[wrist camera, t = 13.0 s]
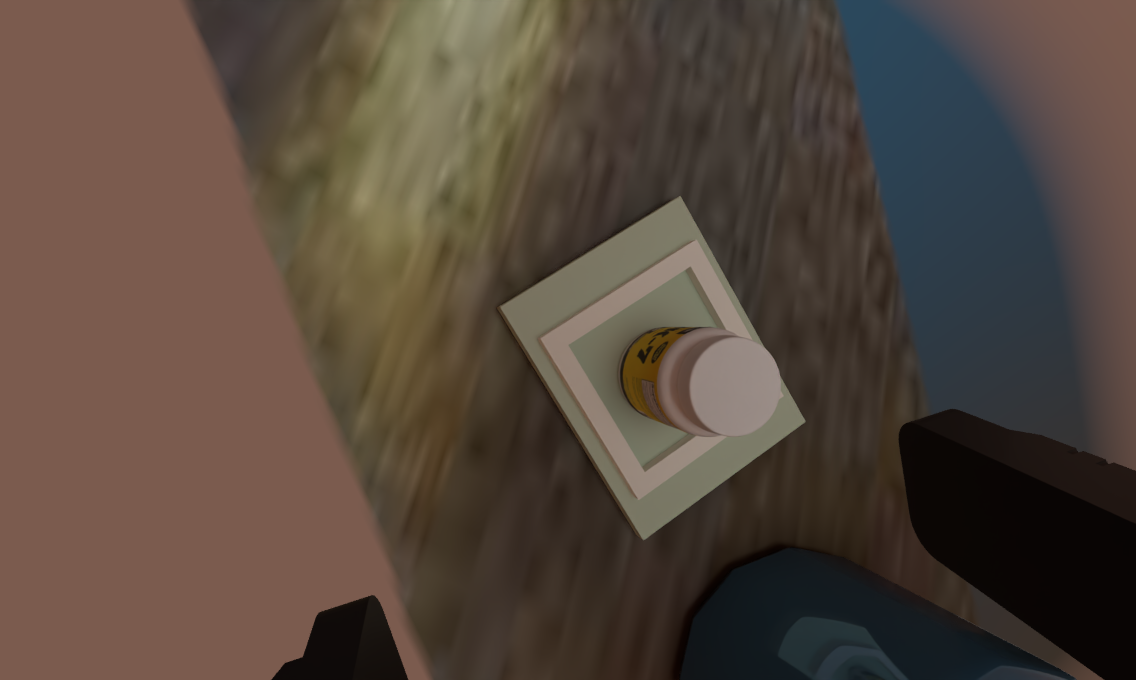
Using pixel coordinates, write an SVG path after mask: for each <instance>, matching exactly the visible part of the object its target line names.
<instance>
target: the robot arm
mask: <svg viewBox="0 0 1136 680" xmlns="http://www.w3.org/2000/svg"><path fill="white" fill-rule="evenodd" d="M899 447H900V454H901V460H902V467H903V474H904V480H905V487H906V494H907V500H908V507H909V514H910V519H911V523H912V526H913V528H914V531H915V533H916V535H917V537H918V539H919V540H920V542H921V544H922V545H923V546H924V548H925V549H926V550H927V551H928V553H929V554H930V555H931V556H932V557H934V558H935V559H936V560H937V561H939V562H940V563H942V564H943V565H944V566H946V567H947V568H949V569H950V570H951V571H953V572H954V573H956V574H957V575H958V576H960V577H961V578H963V579H964V580H965V581H967V582H968V583H970V584H971V585H972V586H974V587H975V588H977V589H978V590H980V591H981V592H982V593H984V594H985V595H987V596H988V597H990V598H991V599H992V600H994V601H995V602H996V603H998V604H999V605H1000V606H1002V607H1003V608H1005V609H1006V610H1007V611H1009V612H1010V613H1012V614H1013V615H1014V616H1016V617H1017V618H1019V619H1020V620H1022V621H1023V622H1024V623H1026V624H1027V625H1028V626H1030V627H1031V628H1033V629H1034V630H1036V631H1037V632H1038V633H1040V634H1041V635H1042V636H1044V637H1045V638H1047V639H1048V640H1049V641H1051V642H1052V643H1054V644H1055V645H1056V646H1058V647H1059V648H1061V649H1062V650H1064V651H1065V652H1066V653H1068V654H1069V655H1070V656H1072V657H1073V658H1075V659H1076V660H1077V661H1079V662H1080V663H1082V664H1083V665H1084V666H1086V667H1087V668H1089V669H1090V670H1091V671H1093V672H1094V673H1096V674H1097V675H1098V676H1100V677H1102V678H1103V679H1104V680H1136V471H1135V470H1132V469H1129V468H1127V467H1124V466H1121V465H1118V464H1116V463H1111V464H1108V463H1107V462H1106V460H1105V459H1103V458H1100V457H1098V456H1095V455H1092V454H1089V453H1087V452H1084V451H1082V452H1078V451H1077V450H1076V448H1074V447H1071V446H1068V445H1066V444H1063V443H1060V442H1058V441H1055V440H1053V439H1050V438H1047V437H1045V436H1042V435H1037V434H1032V433H1025V432H1020V431H1014V430H1009V429H1006V428H1004V427H1001V426H999V425H996V424H994V423H991V422H988V421H985V420H983V419H981V418H978V417H976V416H973V415H970V414H968V413H965V412H963V411H960V410H956V409H949V410H945V411H942V412H939V413H936V414H933V415H930V416H927V417H924V418H921V419H918V420H915V421H911V422H908V423H906V424H904V425H903V426H902V427H901V429H900V432H899ZM272 680H408V678H407V675H406V673H405V669H404V667H403V664H402V661H401V658H400V656H399V653H398V650H397V647H396V644H395V642H394V639H393V636H392V633H391V630H390V628H389V625H388V622H387V619H386V617H385V614H384V611H383V609H382V606H381V604H380V602H379V601H378V599H377V598H376V597H375V596H373V595H371V596H368V597H365V598H363V599H359V600H356V601H353V602H350V603H347V604H343V605H340V606H338V607H334V608H331V609H328V610H325V611H322V612H320V613H318V615H317V616H316V619H315V622H314V625H313V628H312V631H311V634H310V637H309V640H308V643H307V646H306V649H305V652H304V655H303V657H302V658H299V659H296V660H293V661H290V662H287V663H285V664H284V665H283V666H282V667H281V669H280V670H279V671H278V672H277V673H276V675H275V676H274V677H273V679H272Z"/></svg>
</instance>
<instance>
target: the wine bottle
mask: <svg viewBox="0 0 1136 680" xmlns="http://www.w3.org/2000/svg"><path fill="white" fill-rule="evenodd" d="M679 680H1076V678H1074V677H1073V676H1071V675H1070V674H1068V673H1066V672H1064V671H1062V670H1061V669H1059V668H1057V667H1055V666H1054V665H1052V664H1050V663H1048V662H1046V661H1044V660H1042V659H1040V658H1038V657H1036V656H1034V655H1033V654H1031V653H1028V652H1027V651H1025V650H1023V649H1021V648H1019V647H1017V646H1015V645H1013V644H1011V643H1009V642H1007V641H1005V640H1003V639H1001V638H999V637H997V636H995V635H994V634H992V633H990V632H988V631H986V630H984V629H982V628H980V627H978V626H976V625H974V624H972V623H971V622H969V621H967V620H965V619H963V618H961V617H959V616H957V615H955V614H953V613H951V612H949V611H947V610H945V609H943V608H941V607H940V606H938V605H936V604H934V603H932V602H930V601H928V600H926V599H924V598H922V597H920V596H918V595H916V594H914V593H912V592H910V591H909V590H907V589H905V588H903V587H901V586H899V585H897V584H895V583H893V582H891V581H889V580H887V579H885V578H883V577H881V576H879V575H878V574H876V573H874V572H872V571H870V570H868V569H866V568H864V567H862V566H860V565H858V564H856V563H854V562H852V561H850V560H848V559H847V558H844V557H839V556H834V555H829V554H824V553H819V552H814V551H809V550H804V549H799V548H793V547H789V548H784V549H781V550H778V551H776V552H773V553H771V554H768V555H766V556H763V557H761V558H758V559H756V560H753V561H751V562H748V563H746V564H743V565H741V566H738V567H736V568H733V569H731V570H730V571H729V573H728V574H727V575H726V576H725V577H724V579H723V580H722V581H721V582H720V583H719V585H718V586H717V587H716V588H715V590H714V591H713V592H712V593H711V594H710V596H709V597H708V598H707V599H706V600H705V602H704V603H703V604H702V605H701V606H700V608H699V609H698V610H697V611H696V612H695V614H694V615H693V617H692V621H691V625H690V630H689V634H688V638H687V642H686V647H685V651H684V655H683V659H682V664H681V668H680V672H679Z"/></svg>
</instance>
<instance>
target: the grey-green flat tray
mask: <svg viewBox="0 0 1136 680" xmlns="http://www.w3.org/2000/svg"><path fill="white" fill-rule="evenodd" d="M497 309H498V311H499V312H500V314H501V316H502V317H503V319H504V321H505V322H506V324H507V325H508V327H509V329H510V330H511V332H512V334H513V335H514V337H515V338H516V340H517V342H518V343H519V345H520V347H521V348H522V350H523V351H524V353H525V355H526V356H527V358H528V360H529V361H530V363H531V365H532V366H533V368H534V369H535V371H536V373H537V374H538V376H539V378H540V379H541V381H542V382H543V384H544V386H545V387H546V389H547V391H548V392H549V394H550V395H551V397H552V399H553V400H554V402H555V404H556V405H557V407H558V408H559V410H560V412H561V413H562V415H563V417H564V418H565V420H566V421H567V423H568V425H569V426H570V428H571V430H572V431H573V433H574V434H575V436H576V438H577V439H578V441H579V443H580V444H581V446H582V448H583V449H584V451H585V452H586V454H587V456H588V457H589V459H590V461H591V462H592V464H593V465H594V467H595V469H596V470H597V472H598V474H599V475H600V477H601V478H602V480H603V482H604V483H605V485H606V487H607V488H608V490H609V491H610V493H611V495H612V496H613V498H614V500H615V501H616V503H617V504H618V506H619V508H620V509H621V511H622V513H623V514H624V516H625V517H626V519H627V521H628V522H629V524H630V526H631V527H632V529H633V530H634V532H635V534H636V535H638V536H639V537H640V538H641V539H642V540H645V539H646V538H647V537H649V536H650V535H651V534H653V533H654V532H656V531H657V530H658V529H660V528H661V527H662V526H664V525H665V524H667V523H668V522H669V521H671V520H672V519H673V518H675V517H676V516H677V515H679V514H680V513H682V512H683V511H684V510H686V509H687V508H688V507H690V506H691V505H692V504H694V503H695V502H697V501H698V500H699V499H701V498H702V497H703V496H705V495H706V494H707V493H709V492H710V491H712V490H713V489H714V488H716V487H717V486H718V485H720V484H721V483H723V482H724V481H725V480H727V479H728V478H729V477H731V476H732V475H733V474H735V473H736V472H738V471H739V470H740V469H742V468H743V467H744V466H746V465H747V464H748V463H750V462H751V461H753V460H754V459H755V458H757V457H758V456H759V455H761V454H762V453H763V452H765V451H766V450H768V449H769V448H770V447H772V446H773V445H774V444H776V443H777V442H779V441H780V440H781V439H783V438H784V437H785V436H787V435H788V434H789V433H791V432H792V431H794V430H795V429H796V428H798V427H799V426H800V425H802V424H803V423H804V422H805V420H804V418H803V416H802V415H801V413H800V411H799V409H798V407H797V406H796V404H795V402H794V400H793V398H792V397H791V395H790V393H789V391H788V389H787V387H786V386H785V384H784V382H783V380H782V378H781V377H780V379H781V392H780V397H779V401H778V404H777V407H776V409H775V411H774V413H773V415H772V416H771V417H770V419H769V420H768V421H767V422H766V423H765V424H764V425H763V426H762V427H760V428H759V429H758V430H756V431H754V432H752V433H750V434H748V435H744V436H738V437H728V436H722V435H721V436H716V437H701V436H695V435H691V434H688V433H686V432H683V431H681V430H679V429H676V428H673V427H671V426H668V425H665V424H663V423H660V422H658V421H655V420H652V419H650V418H647V417H645V416H643V415H641V414H640V413H638V412H637V411H635V410H634V409H633V408H632V407H631V406H630V405H629V404H628V402H627V401H626V399H625V398H624V396H623V394H622V391H621V388H620V385H619V377H618V371H619V364H620V360H621V357H622V355H623V353H624V351H625V350H626V348H627V347H628V345H629V344H630V343H631V342H632V341H633V340H634V339H635V338H636V337H637V336H639V335H640V334H642V333H644V332H645V331H648V330H650V329H654V328H660V327H714V328H721V329H725V330H728V331H730V332H733V333H735V334H736V335H738V336H739V337H744V338H748V339H751V340H753V341H755V342H757V343H759V344H760V345H762V346H763V344H762V342H761V341H760V339H759V337H758V335H757V333H756V332H755V330H754V328H753V326H752V324H751V323H750V321H749V319H748V317H747V315H746V314H745V312H744V310H743V308H742V306H741V305H740V303H739V301H738V299H737V297H736V295H735V294H734V292H733V290H732V288H731V286H730V285H729V283H728V281H727V279H726V277H725V276H724V274H723V272H722V270H721V268H720V267H719V265H718V263H717V261H716V259H715V258H714V256H713V254H712V252H711V250H710V249H709V247H708V245H707V243H706V241H705V240H704V238H703V236H702V234H701V232H700V231H699V229H698V227H697V225H696V223H695V222H694V220H693V218H692V216H691V214H690V213H689V211H688V209H687V207H686V205H685V203H684V202H683V200H682V198H681V196H679V197H677V198H675V199H673V200H671V201H669V202H668V203H666V204H665V205H663V206H661V207H660V208H658V209H656V210H655V211H653V212H651V213H650V214H648V215H647V216H645V217H643V218H642V219H640V220H638V221H637V222H635V223H634V224H632V225H630V226H629V227H627V228H625V229H624V230H622V231H621V232H619V233H617V234H616V235H614V236H612V237H611V238H609V239H608V240H606V241H604V242H603V243H601V244H599V245H598V246H596V247H595V248H593V249H591V250H590V251H588V252H586V253H585V254H583V255H582V256H580V257H578V258H577V259H575V260H573V261H572V262H570V263H569V264H567V265H565V266H564V267H562V268H560V269H559V270H557V271H555V272H554V273H552V274H551V275H549V276H547V277H546V278H544V279H542V280H541V281H539V282H538V283H536V284H534V285H533V286H531V287H529V288H528V289H526V290H525V291H523V292H521V293H520V294H518V295H516V296H515V297H513V298H512V299H510V300H508V301H507V302H505V303H503V304H502V305H500V306H499V307H497ZM763 347H764V346H763Z"/></svg>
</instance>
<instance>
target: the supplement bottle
mask: <svg viewBox="0 0 1136 680" xmlns="http://www.w3.org/2000/svg"><path fill="white" fill-rule="evenodd" d="M618 377H619V385H620V388H621V391H622V394H623V396H624V398H625V399H626V401H627V402H628V404H629V405H630V406H631V407H632V408H633V409H634V410H635V411H637V412H638V413H640V414H641V415H643V416H645V417H647V418H650V419H652V420H655V421H658V422H660V423H663V424H665V425H668V426H671V427H673V428H676V429H679V430H681V431H683V432H686V433H688V434H691V435H695V436H701V437H716V436H721V435H722V436H728V437H738V436H744V435H748V434H750V433H752V432H754V431H756V430H758V429H759V428H760V427H762V426H763V425H764V424H765V423H766V422H767V421H768V420H769V419H770V417H771V416H772V415H773V413H774V411H775V409H776V407H777V404H778V401H779V397H780V392H781V379H780V374H779V370H778V367H777V364H776V362H775V360H774V359H773V357H772V356H771V354H770V353H769V352H768V351H767V350H766V349H765V348H764V347H763V346H762V345H760V344H759V343H757V342H755V341H753V340H751V339H748V338H744V337H739V336H738V335H736V334H735V333H733V332H730V331H728V330H725V329H721V328H714V327H660V328H654V329H650V330H648V331H645V332H644V333H642V334H640V335H639V336H637V337H636V338H635V339H634V340H633V341H632V342H631V343H630V344H629V345H628V347H627V348H626V350H625V351H624V353H623V355H622V357H621V360H620V364H619V371H618Z"/></svg>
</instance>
